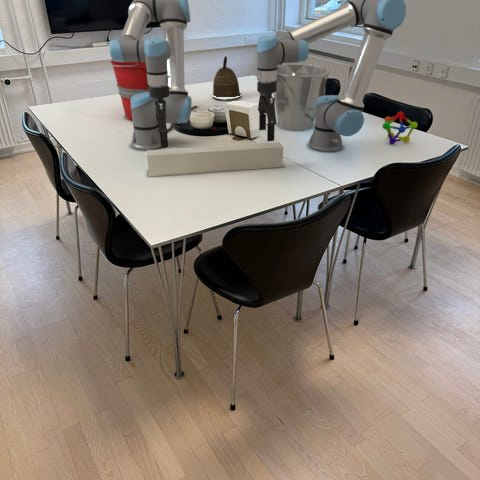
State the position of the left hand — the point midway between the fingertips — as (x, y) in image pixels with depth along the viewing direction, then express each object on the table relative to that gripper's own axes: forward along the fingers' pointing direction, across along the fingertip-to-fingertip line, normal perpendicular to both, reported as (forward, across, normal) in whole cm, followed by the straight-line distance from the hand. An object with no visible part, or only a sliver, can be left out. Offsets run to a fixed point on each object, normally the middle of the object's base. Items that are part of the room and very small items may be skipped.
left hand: (163, 140), depth 173 cm
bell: (+16, +112, -44) cm, 122 cm away
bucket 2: (+15, +49, -70) cm, 87 cm away
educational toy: (+14, +14, -109) cm, 111 cm away
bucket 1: (+15, +82, +6) cm, 83 cm away
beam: (+13, -1, -20) cm, 24 cm away
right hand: (0, 0, -41) cm, 41 cm away
